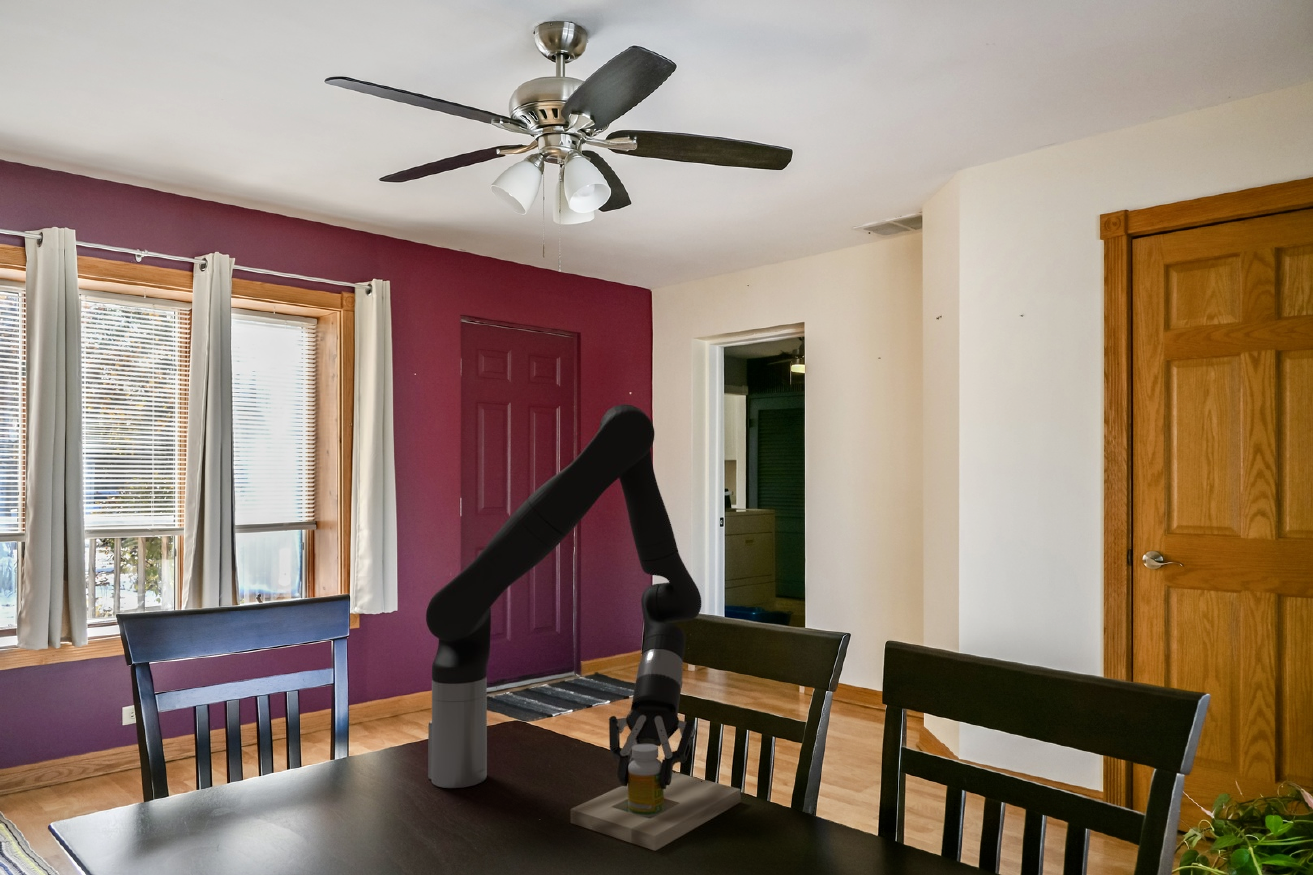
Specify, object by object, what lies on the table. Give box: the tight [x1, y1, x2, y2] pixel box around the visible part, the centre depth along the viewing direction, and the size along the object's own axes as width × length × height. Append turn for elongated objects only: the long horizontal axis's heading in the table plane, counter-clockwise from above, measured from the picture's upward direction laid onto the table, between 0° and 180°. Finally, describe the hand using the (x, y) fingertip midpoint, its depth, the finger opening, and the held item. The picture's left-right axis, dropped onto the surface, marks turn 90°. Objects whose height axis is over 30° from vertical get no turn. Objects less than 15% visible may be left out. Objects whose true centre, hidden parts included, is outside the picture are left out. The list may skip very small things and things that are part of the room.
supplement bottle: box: [628, 743, 664, 819], centre depth 129 cm, size 5×5×10 cm
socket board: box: [570, 771, 742, 851], centre depth 131 cm, size 16×22×2 cm
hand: (643, 784), depth 128 cm, fingers closed on supplement bottle, 5 cm apart
